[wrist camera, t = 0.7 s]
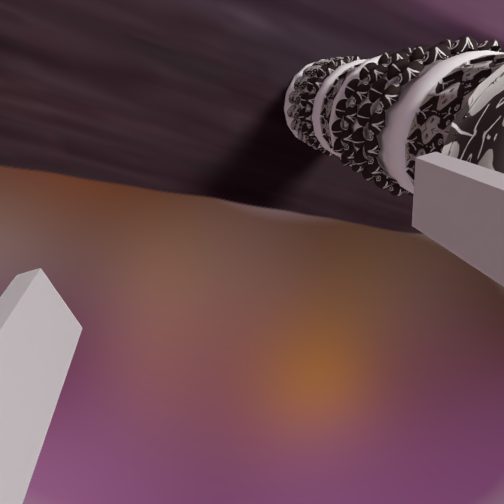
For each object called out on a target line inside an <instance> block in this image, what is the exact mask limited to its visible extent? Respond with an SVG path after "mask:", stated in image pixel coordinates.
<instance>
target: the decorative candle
mask: <svg viewBox="0 0 504 504" xmlns="http://www.w3.org/2000/svg"><path fill="white" fill-rule="evenodd" d="M451 54H457V55H456V56H454V57H451ZM284 113H285V117H286V122H287V125H288V127H289V128H290V130H291V131H292V133H293V134H294V135H295V137H296V138H298V139H299V140H302V141H303V142H304V143H307V144H308V146H310V147H313V148H314V149H315V150H319V151H320V152H322V153H325V154H326V155H327V156H330V157H332V156H334V155H336V156H337V157H339V158H340V159H341V161H342V163H343V165H346V166H348V165H350V166H351V167H352V170H353V171H355V172H357V173H360V172H362V174H363V177H364V179H366V180H374V182H375V184H376V185H377V186H378V187H379V188H381V189H388V188H389V191H390V193H391V194H392V195H394V196H399V195H402V194H403V193H405V192H406V193H407V194H408V195H411V196H414V178H415V159H416V157H419V156H422V155H426V154H429V153H432V152H439V153H442V154H445V155H448V156H451V157H454V158H457V159H460V160H463V161H466V162H469V163H473V164H476V165H479V166H482V167H485V168H488V169H491V170H494V171H497V172H500V173H504V53H502V46H501V44H500V42H499V41H497V40H487V41H485V42H483V43H481V44H480V45H479V46H478V44H477V42H476V40H475V39H474V38H472V37H470V36H463V37H461V38H459V39H458V40H456V41H453V40H444V41H442V42H440V43H439V44H438V45H435V46H433V47H431V46H429V45H419V46H416V47H415V48H414V49H413V48H405V49H403V50H402V51H399V52H396V53H395V52H387V53H384V54H383V55H380V56H377V57H375V58H372V59H371V58H369V59H367V60H365V59H364V60H363V59H362V57H360V56H353V57H344V58H342V57H336V58H328V59H327V60H323V59H322V60H319V61H316V62H313V63H310V64H308V65H306V66H305V67H304V68H303V69H302V70H301V71H299V72H298V73H297V74H296V75H295V76H294V78H293V80H292V81H291V83H290V85H289V87H288V89H287V91H286V96H285V104H284ZM389 177H390V178H391V179H389V180H388V179H387V178H389Z"/></svg>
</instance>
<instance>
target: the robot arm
mask: <svg viewBox="0 0 504 504" xmlns="http://www.w3.org/2000/svg"><path fill="white" fill-rule="evenodd" d="M412 226H413V227H415V228H416V229H418V230H419V231H421V232H422V233H424V234H425V235H427V236H428V237H430V238H431V239H433V240H434V241H436V242H437V243H439V244H440V245H442V246H443V247H445V248H447V249H448V250H449V251H451V252H452V253H454V254H455V255H457V256H458V257H460V258H461V259H463V260H465V261H466V262H467V263H469V264H470V265H472V266H473V267H475V268H476V269H478V270H479V271H481V272H482V273H484V274H485V275H487V276H489V277H490V278H491V279H493V280H494V281H496V282H497V283H499V284H501V285H502V286H504V173H500V172H497V171H494V170H491V169H488V168H485V167H482V166H479V165H476V164H473V163H469V162H466V161H463V160H460V159H457V158H454V157H451V156H448V155H445V154H442V153H439V152H432V153H429V154H426V155H422V156H419V157H416V159H415V178H414V197H413V216H412ZM81 331H82V327H81V325H80V324H79V322H78V321H77V319H76V318H75V317H74V315H73V314H72V312H71V311H70V309H69V308H68V307H67V305H66V304H65V302H64V301H63V299H62V298H61V296H60V295H59V294H58V292H57V291H56V289H55V288H54V286H53V285H52V284H51V282H50V281H49V279H48V278H47V276H46V275H45V273H44V272H43V271H42V269H41V268H39V269H36V270H32V271H29V272H25V273H22V274H19V275H16V277H15V278H14V279H13V281H12V282H11V284H10V285H9V286H8V288H7V289H6V290H5V292H4V293H3V294H2V296H1V297H0V504H22V503H23V500H24V498H25V495H26V492H27V489H28V486H29V483H30V480H31V477H32V474H33V471H34V468H35V465H36V462H37V459H38V457H39V454H40V451H41V448H42V445H43V442H44V439H45V436H46V433H47V430H48V427H49V424H50V422H51V419H52V416H53V413H54V410H55V407H56V404H57V401H58V398H59V395H60V392H61V389H62V386H63V384H64V381H65V378H66V375H67V372H68V369H69V366H70V363H71V360H72V357H73V354H74V351H75V349H76V346H77V343H78V340H79V336H80V334H81Z"/></svg>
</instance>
